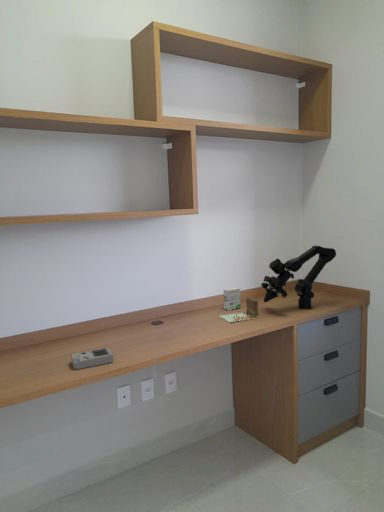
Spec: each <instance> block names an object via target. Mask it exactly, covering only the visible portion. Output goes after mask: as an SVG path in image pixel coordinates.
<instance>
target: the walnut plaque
mask: <svg viewBox="0 0 384 512" xmlns="http://www.w3.org/2000/svg"><path fill="white" fill-rule="evenodd" d="M245 299H246V301H245V302H246V315H247V314H249V315H251V316H253V317H256V316H258V317H259V301H258V299H255V298H253V297H246V298H245ZM249 315H248V316H249ZM251 316H250V317H251ZM253 317H252V318H253ZM256 318H257V317H256Z"/></svg>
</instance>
